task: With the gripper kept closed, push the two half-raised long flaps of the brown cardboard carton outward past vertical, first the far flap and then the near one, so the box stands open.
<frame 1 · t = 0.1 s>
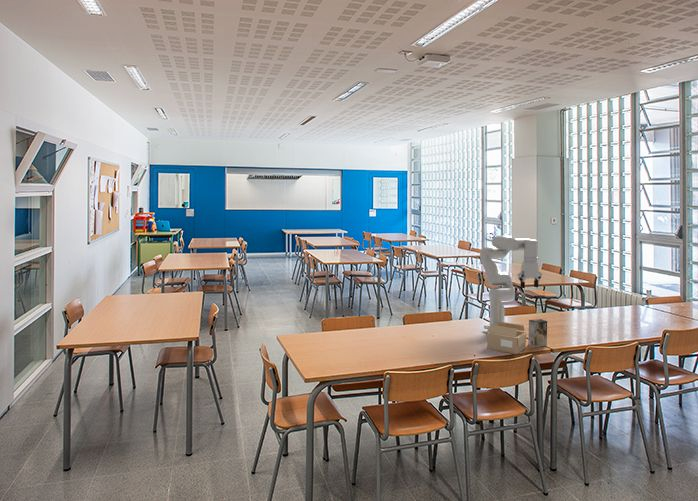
hand: (529, 287, 304), 37 cm above the table, tool pointing down, fingers open, 9 cm apart
near flap: (502, 330, 298), point 13 cm above the table, hinge at 55.0°
coffee box: (537, 345, 311), on the table
carton: (506, 348, 305), on the table
far flap: (510, 326, 309), point 13 cm above the table, hinge at 55.0°
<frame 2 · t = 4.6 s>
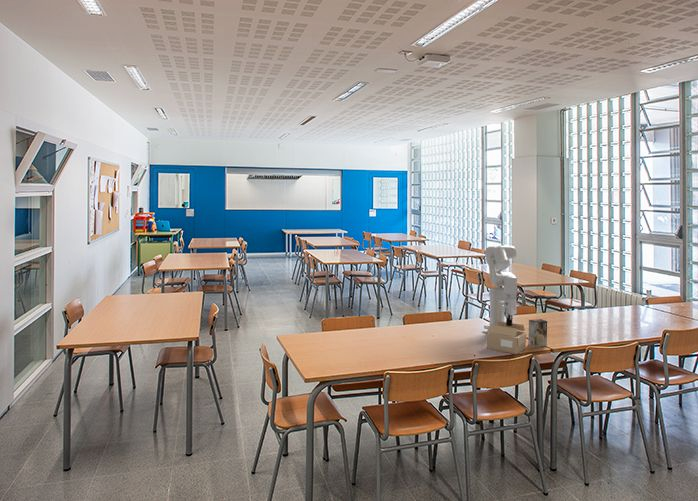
hand: (509, 325, 306), 13 cm above the table, tool pointing down, fingers closed
far flap: (510, 326, 309), point 13 cm above the table, hinge at 58.0°, touching gripper
everything else where it was.
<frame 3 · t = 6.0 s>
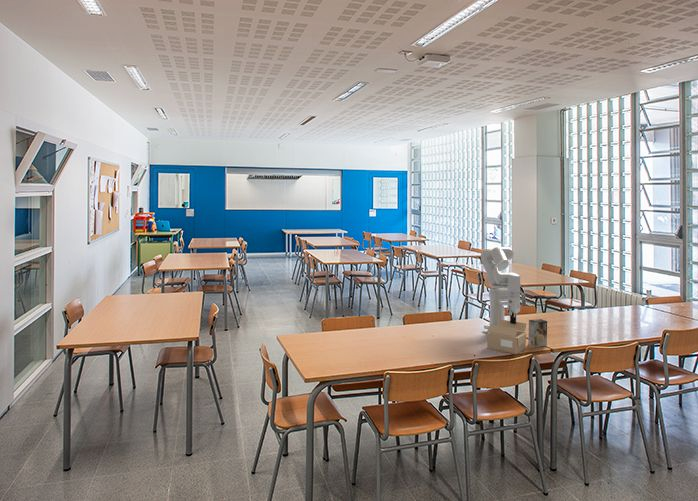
hand: (513, 323, 310), 14 cm above the table, tool pointing down, fingers closed
far flap: (512, 325, 311), point 12 cm above the table, hinge at 114.5°, touching gripper
everything else where it was.
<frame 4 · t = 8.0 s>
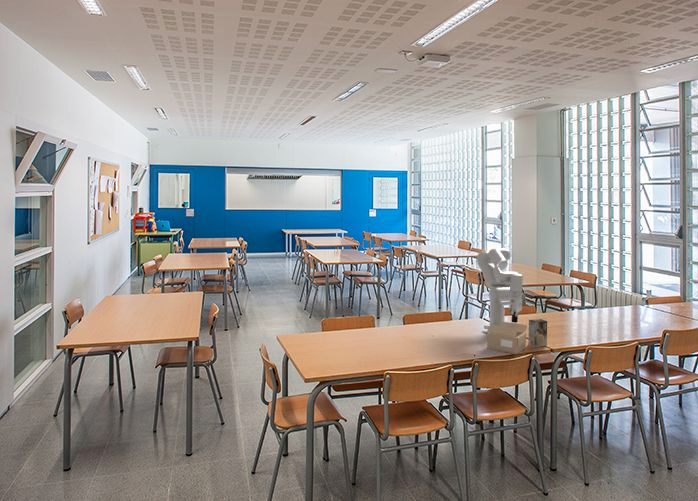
hand: (514, 322, 314), 14 cm above the table, tool pointing down, fingers closed
far flap: (512, 326, 312), point 12 cm above the table, hinge at 140.4°
everything else where it was.
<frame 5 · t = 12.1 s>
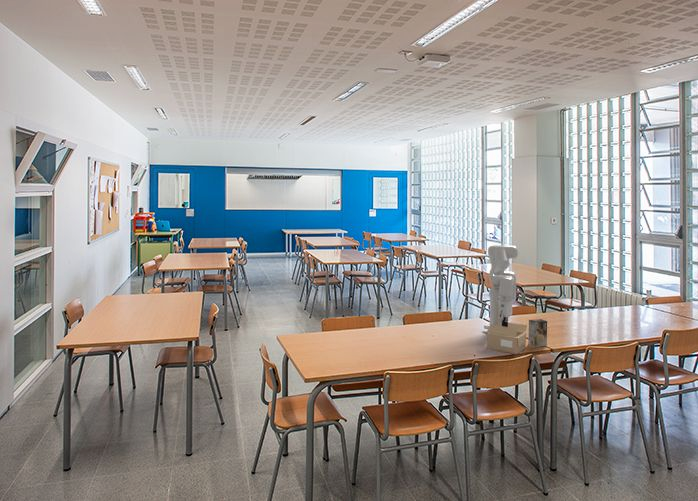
hand: (504, 327, 300), 14 cm above the table, tool pointing down, fingers closed
near flap: (502, 330, 298), point 13 cm above the table, hinge at 57.4°, touching gripper
far flap: (512, 326, 312), point 12 cm above the table, hinge at 140.9°
everything else where it was.
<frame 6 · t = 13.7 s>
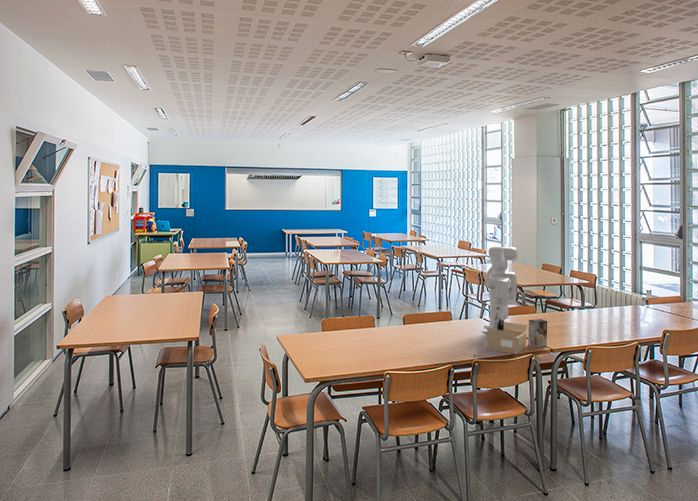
hand: (500, 330, 295), 13 cm above the table, tool pointing down, fingers closed
near flap: (500, 332, 296), point 12 cm above the table, hinge at 129.4°, touching gripper
everything else where it was.
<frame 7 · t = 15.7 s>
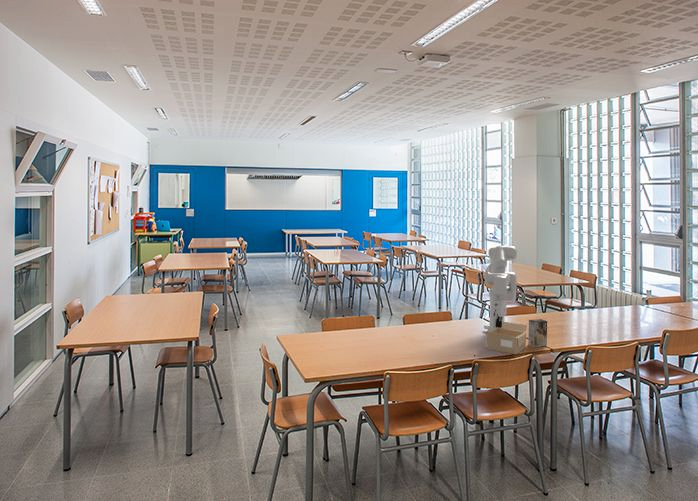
hand: (498, 327, 293), 16 cm above the table, tool pointing down, fingers closed
near flap: (500, 334, 295), point 11 cm above the table, hinge at 154.4°
everything else where it was.
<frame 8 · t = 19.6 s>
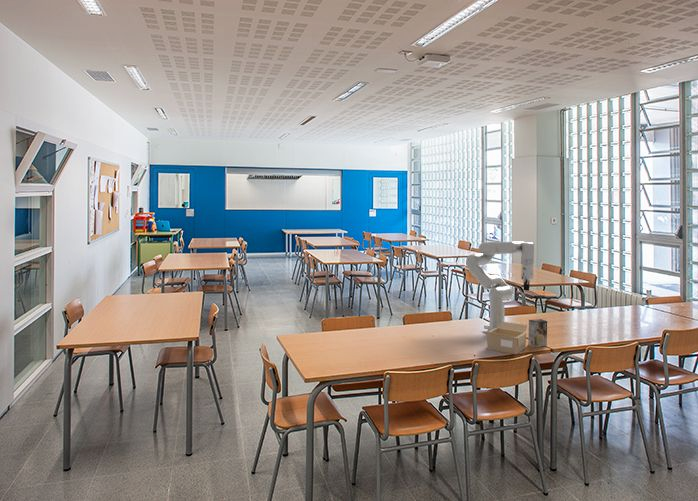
hand: (526, 290, 318), 33 cm above the table, tool pointing down, fingers closed
near flap: (500, 334, 295), point 11 cm above the table, hinge at 155.0°
everything else where it was.
at the end: far flap at +141° (first picture: +55°); near flap at +155° (first picture: +55°) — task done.
